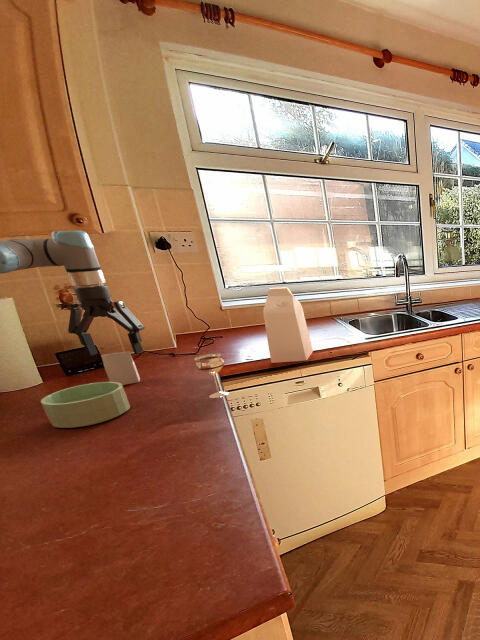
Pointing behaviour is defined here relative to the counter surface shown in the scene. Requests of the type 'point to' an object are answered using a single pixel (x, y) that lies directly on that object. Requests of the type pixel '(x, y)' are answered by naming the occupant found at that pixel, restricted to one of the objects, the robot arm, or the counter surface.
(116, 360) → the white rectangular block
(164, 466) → the counter surface
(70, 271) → the robot arm
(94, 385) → the bowl
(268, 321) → the milk
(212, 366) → the wineglass
